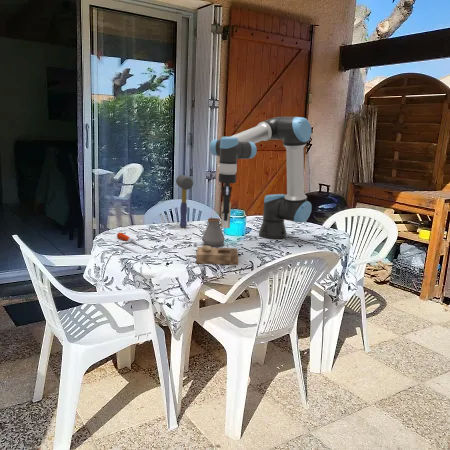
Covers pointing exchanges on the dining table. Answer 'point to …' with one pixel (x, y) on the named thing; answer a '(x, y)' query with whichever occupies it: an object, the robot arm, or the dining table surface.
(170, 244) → the dining table surface
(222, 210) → the beech dowel
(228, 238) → the dining table surface
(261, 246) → the dining table surface
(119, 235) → the hand saw
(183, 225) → the rubber mallet
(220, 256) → the wooden block with hole
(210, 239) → the coffee pot
